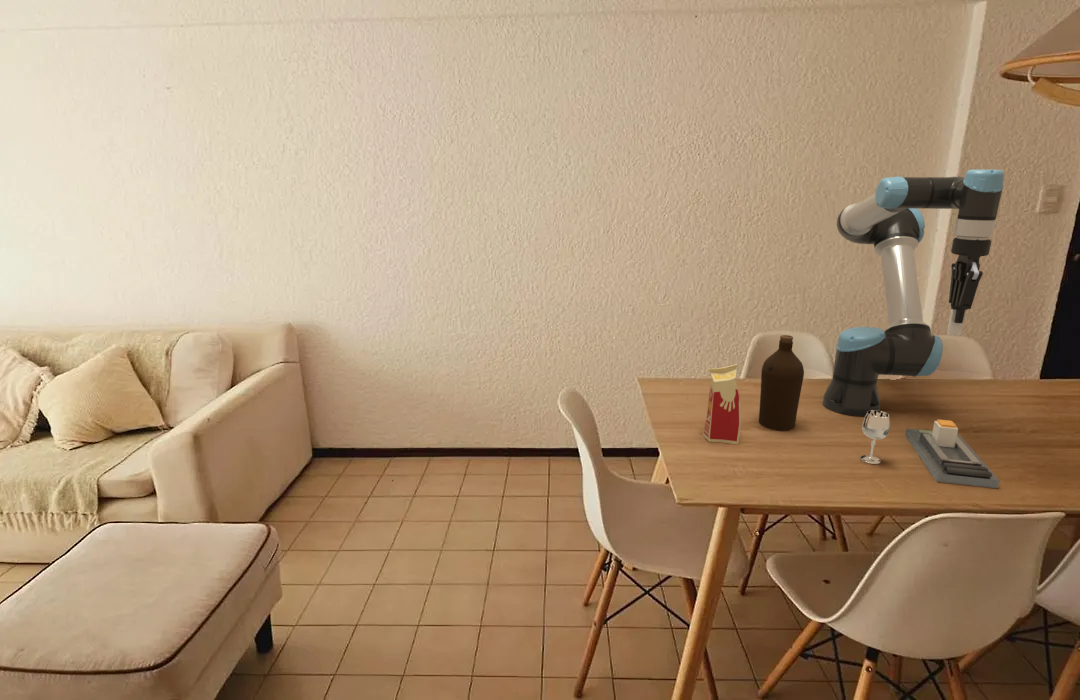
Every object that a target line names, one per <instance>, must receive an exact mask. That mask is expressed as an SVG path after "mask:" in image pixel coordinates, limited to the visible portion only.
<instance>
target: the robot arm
mask: <svg viewBox="0 0 1080 700" xmlns="http://www.w3.org/2000/svg"><path fill="white" fill-rule="evenodd" d="M1004 181H1005V172H1004V171H1003V170H1002V169H983V168H982V169H969V170H967V171H966V173H965V174H964V177H963V176H949V177H947V176H942V177H941V176H937V177H935V176H934V177H931V176H930V177H929V176H928V177H927V176H926V177H924V176H921V177H919V176H898V175H897V176H891V177H884V178H882V179H881V180H880V181H879V183H878V184H877V186H876V190H875V193H873V194H872V195H869V196H868V197H867V198H865V199H864V200H862V201H861V202H858V203H857V202H855V203H851V204H850V205H848V206H846V207H845V208H844V209H842V210H841V211H840V213H839V214H838V216H837V218H836V229H837V231H838V233H839V234H840V235H841V237H843V238H844V239H845V240H847V241H849V242H851V243H854V244H860V245H873V247H874V253H875V254H876V255H878V256H880V258H881V267H882V268H881V270H882V276H883V285H884V295H885V303H886V312H887V318H888V327H886V329H882V328H879V327H870V326H857V327H850V328H847V329H845V330H843V331H841V332H840V333H839V335H838V338H837V339H838V340H837V344H836V347H835V349H836V350H835V351H836V352H835V358H834V366H833V373H832V379H831V381H830V383H829V384H828V386H827V388H826V390H825V392H824V394H823V398H822V405H823V407H825V408H827V409H829V410H831V411H833V412H836V413H839V414H843V415H848V416H853V417H854V416H855V417H865V415H866V413H867V411H869V410H878V411H881V410H880V409H881V400H880V394H879V390H878V379H879V375H881V376H883V375H884V376H885V375H886V376H902V377H903V376H906V377H907V376H908V377H913V378H914V377H927V376H930V375H932V374H934V373H936V371H937V370H938V368H939V366H940V364H941V361H942V359H943V352H944V351H943V350H944V348H943V347H944V345H943V344H944V343H943V341H942V339H941V338H940V336H938V335H937V334H936V335H935V334H932V331H931V327H930V325H929V324H927V323H926V322H924V318H923V311H922V310H923V309H922V305H921V304H922V303H921V295H920V290H919V289H920V288H919V282H918V276H917V274H918V273H917V268H916V261H915V253H914V251H915V250H916V249H917V248H918V246H919V244H920V242H921V241H922V240H923V238H924V235H925V228H926V226H925V225H926V223H925V218H924V216H923V213H922V211H920V209H928V210H929V209H933V210H934V209H937V210H938V209H941V210H942V209H946V210H952V209H953V210H958V211H957V217H956V220H955V221H956V222H955V227H954V232H953V235H954V236H956V237H954V238H953V239H952V243H951V249H950V253H952V254H953V255H956V256H958V257H957V259H956V261H955V262H954V263H953V262H952V264H951V267H950V268H951V277H950V285H949V296H948V304H950V314H949V320H948V323H947V328H946V335H948V336H957V337H962V333H963V327H964V322H965V317H966V312H967V311H968V310H971V309H972V306H973V302H974V299H975V296H976V293H977V290H978V287H979V282H980V281H981V279H982V277H983V274H984V272H983V271H982V270H980V267H981V264H980V257H986V256H988V255H989V254H990V251H991V245H992V240H991V239H990V238H992V237H993V236H994V235H993V234H994V230H995V229H996V228H997V227H998V225H997V223H996V219H997V215H998V211H999V207H1000V202H1001V197H1002V193H1003V190H1004Z"/></svg>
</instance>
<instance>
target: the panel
mask: <svg viewBox="0 0 1080 700" xmlns="http://www.w3.org/2000/svg"><path fill="white" fill-rule="evenodd" d="M932 431H933V430H930V429H929V430H928V429H919V428H910V427H906V429H905V433H904V434H905V437H906V439H907V441H908V442H909V443H910V445H911V446H912V447H913V449H914V451H915V452H916V454H917V455H918V456H919V457H920V459H921V460H922V462H923V464H924V465H925V466H926V468H927V469H928V471H929V472H930V475H932V477H933V478H934V480H935V481H936V482H938V483H945V484H947V483H948V484H954V485H964V486H972V487H981V488H990V489H991V488H992V489H997V488H998V489H999V485H1000V481H1001V480H1000V479H999V478H998V477H997V475H996V474H995V473H994V472H993V471H992V470H991V469H990V468H989V466H988V465H987V464H986V463H985V462H984V461H983V460H982V458H981V457H980V456H979V455H978V454H977V453H976V452H975V450H974V449H973V448H972V447H971V446H970V445H969V444H968V443H967V441H966V440H965V439H964V438H963V437H962V436H961V435H960V434H959V433H957V438H956V443H955V447H954V448H952V447H942V446H938V445H937V444H936V442H935V441H934V440H933V438H932ZM944 463H953V464H962V465H972V466H981V467H986V468H988V471H989V472H991V473H992V477H990V478H986V477H977V476H968V475H959V474H950V473H947V471H946V469H944V468H943V464H944Z"/></svg>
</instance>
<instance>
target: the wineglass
mask: <svg viewBox="0 0 1080 700" xmlns="http://www.w3.org/2000/svg"><path fill="white" fill-rule="evenodd" d="M890 428H891V419H890V415H889V414H888V413H887V412H885V411H882V410H880V411H878V410H869V411H867V413H866V415H865V416H864V418H863V421H862V426H861V429H862V433H863V435H865V436H866V437H867V438H869V439H870V440H871V439H872V440H871V441H870V446H871V447H870V448H871V449H870V453H869V455H866V454H864V455H861V456H860V457H859V458H860V460H861V461H862V462H863V463H867V464H870V465H871V464H872V465H877V464H878V465H879V464H881V462H882V461H881V459H880V458H878V457H877V456H874V455H873V452H874V448H875V446H876V444H877V440H883V439H884V438H886V437H887V436H889V433H890V431H891V430H890Z"/></svg>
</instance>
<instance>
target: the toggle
mask: <svg viewBox="0 0 1080 700" xmlns="http://www.w3.org/2000/svg"><path fill="white" fill-rule="evenodd" d="M931 431H932V438H933V440H934V441H935V442H936V444H937V445H938V446H942V447H952V448H954V447H955V443H956V438H957V433H958V432H959V427H957V425H956V424H955V423H954V421H953V420H947V419H937V420H934V422H933V428H932V430H931ZM958 434H959V433H958Z"/></svg>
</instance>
